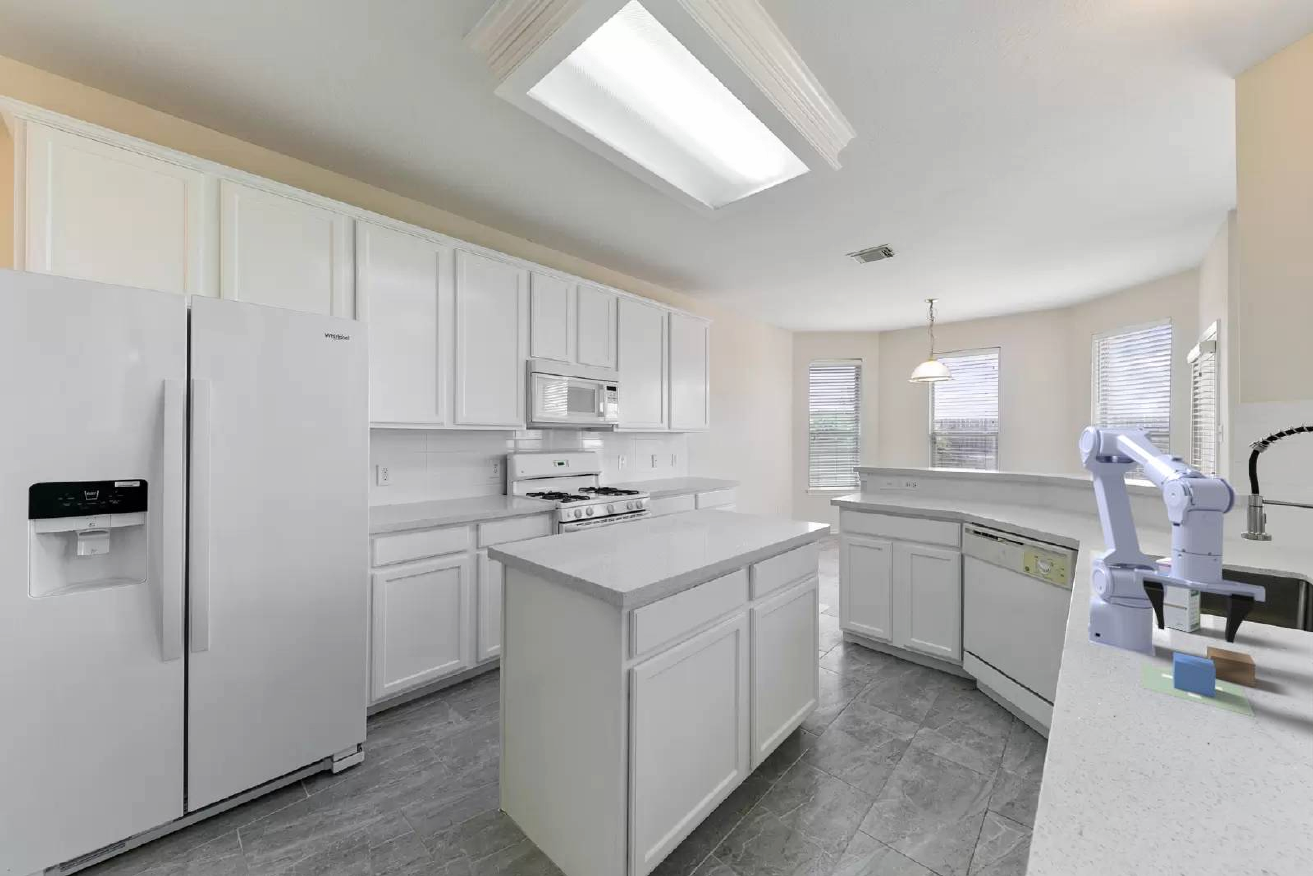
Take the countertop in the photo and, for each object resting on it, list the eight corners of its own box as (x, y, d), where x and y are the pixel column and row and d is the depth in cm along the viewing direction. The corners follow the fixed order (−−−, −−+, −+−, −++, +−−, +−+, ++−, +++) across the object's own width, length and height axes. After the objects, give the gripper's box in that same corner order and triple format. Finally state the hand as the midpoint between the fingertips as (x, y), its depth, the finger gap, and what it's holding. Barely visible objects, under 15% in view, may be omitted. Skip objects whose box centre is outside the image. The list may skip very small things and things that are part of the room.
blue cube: (1174, 688, 83) (1174, 660, 83) (1172, 678, 87) (1173, 652, 87) (1214, 698, 80) (1215, 669, 80) (1211, 687, 84) (1212, 660, 83)
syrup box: (1190, 633, 108) (1192, 565, 107) (1153, 624, 113) (1154, 558, 112) (1200, 629, 110) (1202, 562, 110) (1164, 619, 115) (1165, 556, 115)
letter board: (1142, 691, 83) (1142, 688, 83) (1141, 667, 92) (1141, 663, 92) (1255, 720, 75) (1255, 716, 75) (1241, 690, 84) (1242, 686, 84)
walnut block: (1209, 681, 87) (1210, 655, 87) (1206, 671, 91) (1207, 646, 91) (1254, 691, 84) (1255, 664, 84) (1249, 680, 88) (1249, 654, 87)
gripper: (1135, 548, 85) (1133, 628, 85) (1270, 564, 75) (1267, 655, 76) (1135, 541, 90) (1133, 617, 91) (1261, 555, 80) (1258, 641, 81)
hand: (1194, 634), depth 83 cm, fingers open, 7 cm apart
